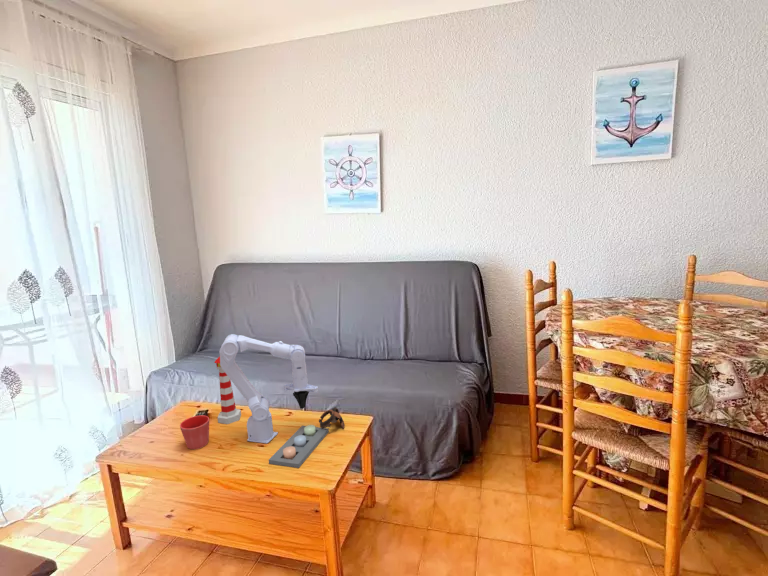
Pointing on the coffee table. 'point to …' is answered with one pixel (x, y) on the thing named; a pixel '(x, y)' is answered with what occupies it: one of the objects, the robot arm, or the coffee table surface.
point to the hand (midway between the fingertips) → (302, 407)
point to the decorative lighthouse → (226, 398)
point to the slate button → (300, 441)
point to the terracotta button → (289, 452)
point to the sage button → (310, 430)
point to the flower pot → (195, 431)
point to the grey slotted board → (299, 448)
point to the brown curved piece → (331, 418)
